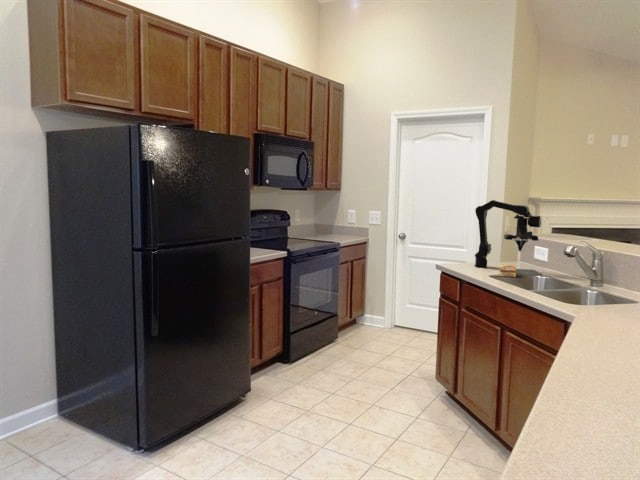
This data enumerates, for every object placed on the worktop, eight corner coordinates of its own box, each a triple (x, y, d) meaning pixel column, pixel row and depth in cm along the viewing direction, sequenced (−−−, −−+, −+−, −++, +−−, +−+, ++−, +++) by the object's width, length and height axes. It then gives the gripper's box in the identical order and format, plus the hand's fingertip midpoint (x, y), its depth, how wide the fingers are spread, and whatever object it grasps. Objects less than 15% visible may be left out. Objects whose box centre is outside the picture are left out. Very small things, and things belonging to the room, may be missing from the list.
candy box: (500, 271, 292) (499, 276, 278) (500, 264, 291) (499, 269, 277) (515, 272, 288) (515, 277, 274) (515, 265, 288) (516, 270, 274)
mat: (515, 274, 284) (515, 273, 284) (508, 269, 299) (508, 268, 299) (542, 275, 283) (542, 274, 283) (534, 270, 297) (534, 269, 297)
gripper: (509, 227, 281) (507, 252, 284) (542, 228, 279) (539, 254, 281) (504, 225, 292) (502, 249, 295) (536, 226, 290) (534, 251, 292)
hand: (519, 251), depth 290 cm, fingers closed
